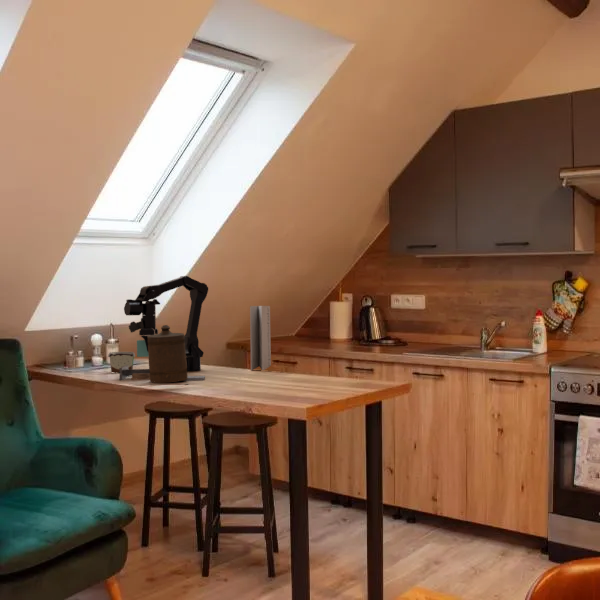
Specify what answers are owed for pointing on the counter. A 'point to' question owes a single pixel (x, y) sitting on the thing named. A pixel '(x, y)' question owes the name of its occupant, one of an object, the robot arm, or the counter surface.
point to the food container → (121, 360)
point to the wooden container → (167, 356)
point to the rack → (130, 371)
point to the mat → (195, 378)
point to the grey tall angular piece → (260, 337)
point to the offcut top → (140, 375)
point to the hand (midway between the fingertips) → (149, 351)
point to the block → (141, 349)
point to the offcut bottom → (140, 378)
